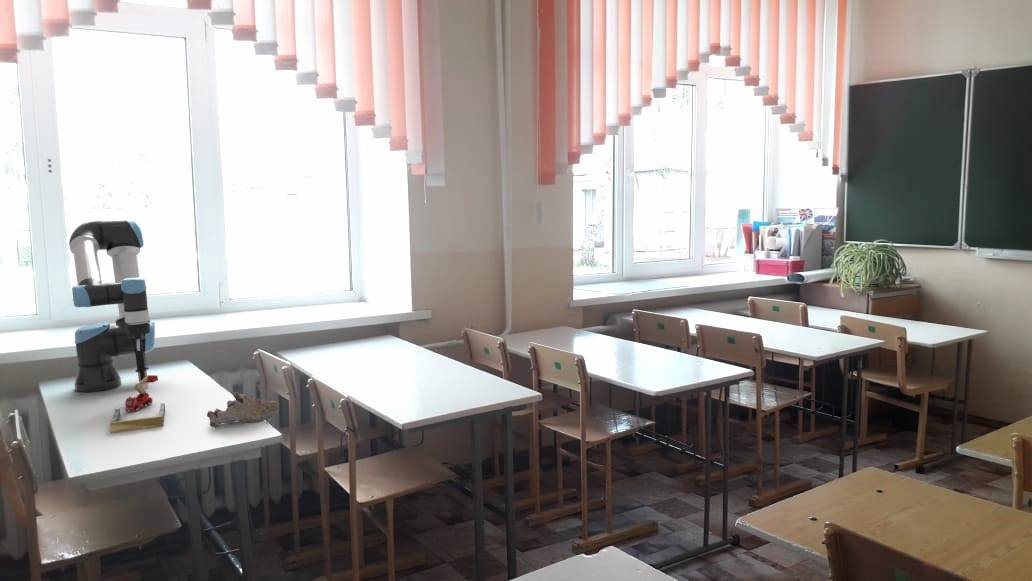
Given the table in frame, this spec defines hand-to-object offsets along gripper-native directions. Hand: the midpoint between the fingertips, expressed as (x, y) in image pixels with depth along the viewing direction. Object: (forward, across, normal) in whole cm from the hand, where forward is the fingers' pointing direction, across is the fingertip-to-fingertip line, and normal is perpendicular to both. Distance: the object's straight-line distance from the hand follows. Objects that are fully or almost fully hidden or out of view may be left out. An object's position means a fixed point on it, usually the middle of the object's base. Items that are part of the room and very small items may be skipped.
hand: (144, 389), depth 270 cm
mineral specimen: (+4, +46, +30) cm, 55 cm away
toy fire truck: (+4, +12, 0) cm, 12 cm away
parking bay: (+4, +29, 0) cm, 29 cm away
